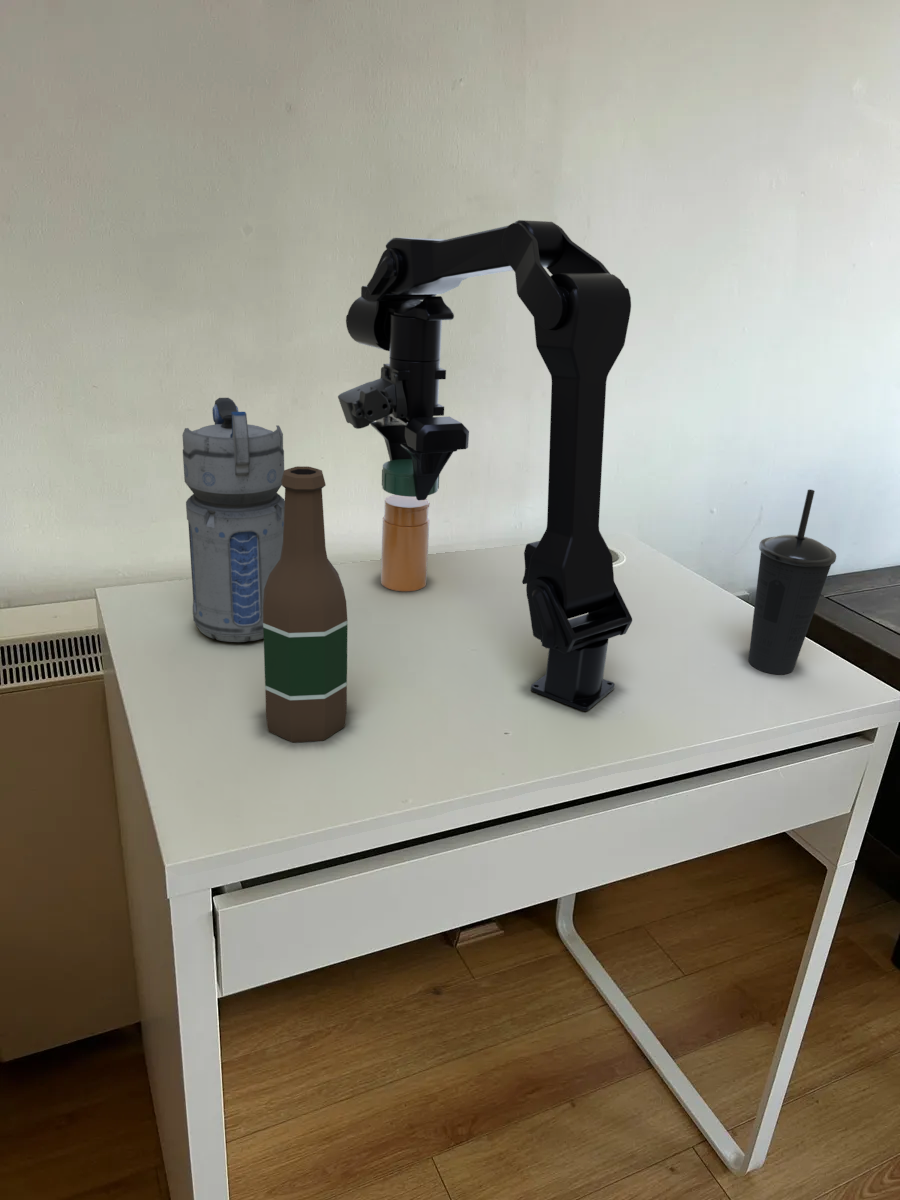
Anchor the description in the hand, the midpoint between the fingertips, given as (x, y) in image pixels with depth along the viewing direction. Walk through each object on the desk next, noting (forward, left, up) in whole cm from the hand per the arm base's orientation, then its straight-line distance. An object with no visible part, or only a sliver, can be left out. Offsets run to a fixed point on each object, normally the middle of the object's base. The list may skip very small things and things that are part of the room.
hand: (410, 491), depth 108 cm
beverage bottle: (-20, +8, -13) cm, 25 cm away
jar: (+2, +2, -13) cm, 13 cm away
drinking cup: (+12, -42, -13) cm, 46 cm away
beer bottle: (-30, -12, -13) cm, 35 cm away
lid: (0, 0, +3) cm, 3 cm away
